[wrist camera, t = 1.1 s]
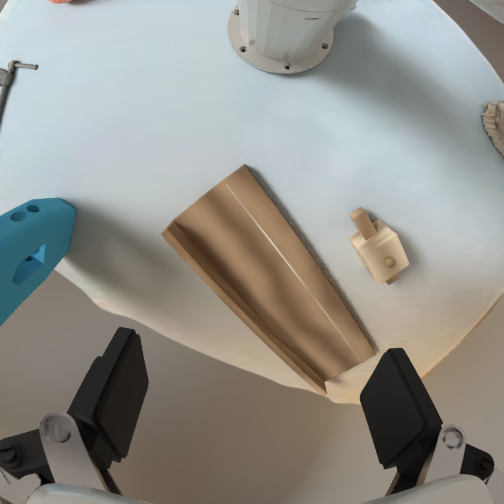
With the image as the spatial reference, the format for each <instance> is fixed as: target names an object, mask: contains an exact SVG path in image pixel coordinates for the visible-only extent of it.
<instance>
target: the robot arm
mask: <svg viewBox="0 0 504 504" xmlns="http://www.w3.org/2000/svg"><path fill="white" fill-rule="evenodd" d="M357 1H358V0H238V4H237V5H236V6H235V7H234V9H233V10H232V12H231V14H230V16H229V19H228V25H227V31H228V37H229V40H230V43H231V45H232V47H233V49H234V50H235V51H236V53H237V54H238V55H239V56H240V57H241V58H242V59H243V60H244V61H246V62H247V63H249V64H250V65H252V66H254V67H255V68H258V69H261V70H263V71H266V72H271V73H275V74H294V73H299V72H303V71H306V70H308V69H311V68H313V67H314V66H316V65H317V64H319V63H320V62H321V61H322V60H323V59H324V58H325V57H326V56H327V55H328V53H329V52H330V50H331V47H332V45H333V40H334V29H333V27H334V26H335V25H336V24H337V23H338V22H339V21H340V19H341V18H342V17H343V16H344V15H345V14H346V13H347V12H348V11H351V10H353V9H355V8H356V4H355V3H356V2H357ZM470 1H471V2H473V3H474V4H475V5H477V6H478V7H480V8H481V9H482V10H484V11H485V12H486V13H488V14H489V15H490V16H492V17H493V18H495V19H496V20H498V21H500V22H501V23H503V24H504V0H470ZM237 14H239V15H237ZM322 46H323V47H325V49H323V48H322ZM242 50H246V52H242ZM286 66H288V67H289V69H288V70H287V69H286V68H285V67H286ZM148 382H149V381H148V376H147V371H146V366H145V361H144V356H143V351H142V345H141V339H140V336H139V334H136V332H135V330H134V329H129V328H123V327H119V328H118V330H117V331H116V333H115V334H114V336H113V338H112V340H111V342H110V343H109V345H108V347H107V349H106V350H105V353H104V354H103V356H102V357H101V356H98V357H97V358H96V359H95V360H94V362H93V364H92V365H91V367H90V369H89V371H88V373H87V374H86V377H85V378H84V380H83V382H82V384H81V386H80V388H79V390H78V392H77V393H76V396H75V397H74V399H73V401H72V403H71V406H70V407H69V409H68V412H67V414H66V413H64V412H60V411H54V412H50V413H48V414H46V415H45V416H44V417H43V418H42V420H41V422H40V425H39V429H36V430H33V431H29V432H26V433H22V434H19V435H15V436H12V437H8V438H4V439H2V440H1V441H0V504H22V503H23V502H24V500H25V499H27V498H28V497H29V496H28V494H30V493H31V492H32V491H34V490H35V492H34V493H33V494H32V496H31V497H30V499H29V501H28V503H27V504H153V503H149V502H145V501H141V500H137V499H133V498H129V497H126V496H124V495H123V493H122V492H121V490H120V488H119V486H118V485H117V483H116V481H115V479H114V478H113V476H112V474H111V472H110V470H109V468H110V466H111V463H112V461H116V462H119V463H120V462H121V459H122V458H126V456H127V454H128V450H129V447H130V443H131V440H132V437H133V433H134V430H135V427H136V423H137V420H138V417H139V414H140V410H141V407H142V404H143V401H144V398H145V395H146V392H147V389H148ZM360 402H361V405H362V408H363V411H364V413H365V417H366V420H367V423H368V426H369V430H370V433H371V436H372V439H373V443H374V446H375V449H376V452H377V456H378V459H379V462H380V464H383V467H384V469H388V468H392V467H395V466H396V467H397V472H396V475H395V477H394V479H393V481H392V483H391V485H390V487H389V489H388V491H387V493H386V495H385V497H383V498H379V499H376V500H372V501H368V502H363V503H360V504H504V473H503V472H502V471H501V470H500V469H498V468H497V467H495V468H494V461H493V458H492V457H491V455H490V454H488V453H487V452H484V451H482V450H480V449H478V448H475V447H473V446H471V445H469V444H467V443H466V436H465V433H464V432H463V430H462V429H461V428H460V427H458V426H456V425H453V424H449V425H446V426H444V427H443V428H442V427H441V425H442V424H443V422H442V420H441V418H440V416H439V414H438V412H437V410H436V408H435V406H434V404H433V402H432V400H431V398H430V396H429V394H428V392H427V390H426V388H425V387H424V385H423V383H422V381H421V379H420V377H419V375H418V374H417V372H416V370H415V368H414V366H413V365H412V363H411V361H410V359H409V358H408V356H407V354H406V352H405V351H404V349H403V348H390V349H388V350H387V352H385V353H384V354H383V356H382V357H381V359H380V361H379V363H378V365H377V366H376V368H375V370H374V372H373V374H372V375H371V377H370V379H369V380H368V382H367V384H366V385H365V387H364V389H363V390H362V392H361V394H360Z"/></svg>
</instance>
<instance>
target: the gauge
mask: <svg viewBox="0 0 504 504" xmlns="http://www.w3.org/2000/svg"><path fill="white" fill-rule="evenodd" d="M349 215H350V217H351V219H352V220H353V222H354V224H355V225H356V227H357V229H358V231H359V232H357V233H356V234H354V235H353V236H351V237H350V238H348V239H349V240H350V242H351V244H352V245H353V247H354V249H355V251H356V252H357V254H358V256H359V258H360V259H361V261H362V263H363V265H364V266H365V267H366V269H367V270H368V271H369V273H370V274H371V276H372V277H373V278H374V280H375V281H376V283H377V284H378V285H379V286H380V285H381V284H382V283H384V282H385V281H386V283H387V284H388V285H390V284H391V283H393V282H394V281H396V280H397V279H398V276H397V273H398V272H400V271H401V270H403V269H404V268H405V267H407V266H408V265H409V262H408V259H407V257H406V254H405V252H404V249H403V247H402V245H401V242H400V240H399V238H398V236H397V234H396V233H395V232H393V231H392V230H391V229H390V228H388V227H387V226H386V225H385V224H384V223H382V222H381V221H380V220H379V219H376V220H375V221H373V222H371V220H370V218H369V216H368V214H367V213H366V211H365V210H364V209H362V208H361V207H360V208H358V209H357V210H355V211H354V212H352V213H351V214H349Z"/></svg>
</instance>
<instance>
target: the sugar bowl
mask: <svg viewBox="0 0 504 504" xmlns="http://www.w3.org/2000/svg"><path fill="white" fill-rule="evenodd" d="M48 1H50V2H52V3H55V4H60V3H66V2H69V1H71V0H48Z"/></svg>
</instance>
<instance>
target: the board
mask: <svg viewBox="0 0 504 504" xmlns="http://www.w3.org/2000/svg"><path fill="white" fill-rule="evenodd" d="M161 235H162V236H163V237H164V238H165V239H166V241H167V242H168V243H169V244H170V245H171V246H172V247H173V248H174V250H175V251H176V252H177V253H178V254H179V255H180V256H181V257H182V258H183V259H184V261H185V262H186V263H187V264H188V265H189V266H190V267H191V268H192V269H193V270H194V271H195V272H196V274H197V275H198V276H199V277H200V278H201V279H202V280H203V281H204V282H205V283H206V284H207V285H208V286H209V287H210V288H211V289H212V291H213V292H214V293H215V294H216V295H217V296H218V297H219V298H220V299H221V300H222V301H223V302H224V303H225V304H226V305H227V306H228V307H229V308H230V309H231V310H232V311H233V312H234V313H235V314H236V315H237V316H238V317H239V318H240V319H241V320H242V321H243V322H244V323H245V324H246V325H247V326H248V327H249V328H250V329H251V330H252V331H253V332H254V333H255V334H256V335H257V336H258V337H259V338H260V339H261V340H262V341H263V342H264V343H265V344H266V345H267V346H268V347H269V348H270V349H271V350H273V351H274V352H275V353H276V354H277V355H278V356H279V357H280V358H281V359H282V360H283V361H284V362H285V363H286V364H287V365H288V366H290V367H291V368H292V369H293V370H294V371H295V372H296V373H297V374H298V375H299V376H300V377H301V378H303V379H304V380H305V381H306V382H307V383H308V384H309V385H310V386H311V387H313V388H314V389H315V390H316V391H317V392H318V393H319V394H320V395H322V396H324V395H326V394H327V391H326V387H325V383H324V382H325V381H327V380H329V379H331V378H333V377H335V376H337V375H339V374H341V373H343V372H345V371H347V370H349V369H350V368H352V367H354V366H356V365H358V364H360V363H361V362H363V361H365V360H367V359H368V358H370V357H372V356H374V355H375V354H376V353H375V351H374V349H373V347H372V346H371V344H370V342H369V341H368V339H367V338H366V336H365V335H364V333H363V331H362V330H361V328H360V327H359V325H358V324H357V322H356V320H355V319H354V317H353V316H352V314H351V313H350V311H349V310H348V308H347V307H346V305H345V304H344V302H343V301H342V299H341V298H340V296H339V295H338V293H337V292H336V290H335V289H334V287H333V286H332V284H331V283H330V281H329V280H328V278H327V277H326V275H325V274H324V272H323V271H322V269H321V268H320V266H319V265H318V264H317V262H316V261H315V259H314V258H313V256H312V255H311V254H310V252H309V251H308V249H307V248H306V246H305V245H304V244H303V242H302V241H301V239H300V238H299V237H298V235H297V234H296V232H295V231H294V230H293V228H292V227H291V225H290V224H289V223H288V221H287V220H286V219H285V217H284V216H283V215H282V213H281V212H280V210H279V209H278V208H277V206H276V205H275V204H274V202H273V201H272V200H271V198H270V197H269V196H268V194H267V193H266V192H265V190H264V189H263V188H262V186H261V185H260V184H259V182H258V181H257V180H256V179H255V177H254V176H253V175H252V173H251V172H250V171H249V169H248V168H247V167H246V166H245V164H244V165H243V166H241V167H240V168H239V169H237V170H236V171H235V172H233V173H232V174H231V175H229V176H228V177H227V178H225V179H224V180H223V181H221V182H220V183H219V184H217V185H216V186H215V187H214V188H212V189H211V190H210V191H208V192H207V193H206V194H205V195H203V196H202V197H201V198H200V199H198V200H197V201H196V202H195V203H193V204H192V205H191V206H190V207H188V208H187V209H186V210H185V211H184V212H182V213H181V214H180V215H179V216H178V217H176V218H175V219H174V220H173V221H172V222H171V223H170V224H169V225H168V226H167V228H166V229H165V230H164V231H163V233H162V234H161Z"/></svg>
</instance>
